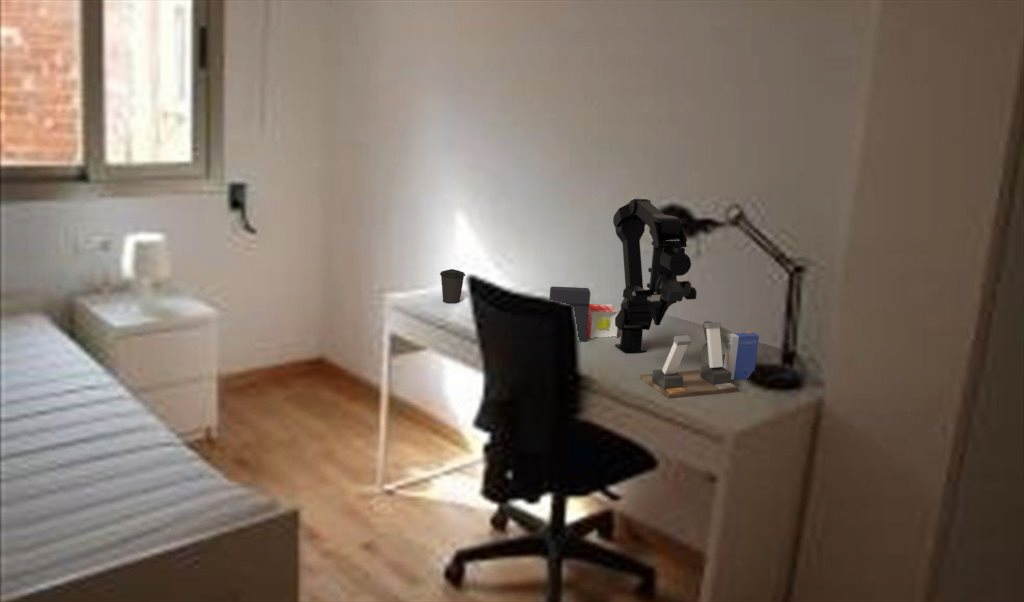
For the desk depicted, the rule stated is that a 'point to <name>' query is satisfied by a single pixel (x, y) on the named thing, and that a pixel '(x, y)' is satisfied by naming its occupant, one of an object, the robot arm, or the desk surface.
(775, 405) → the desk surface
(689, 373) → the switch board
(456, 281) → the coffee cup
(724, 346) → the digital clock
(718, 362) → the lever
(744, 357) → the walkman
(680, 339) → the lever
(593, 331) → the red and white cube
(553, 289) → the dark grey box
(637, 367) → the desk surface
